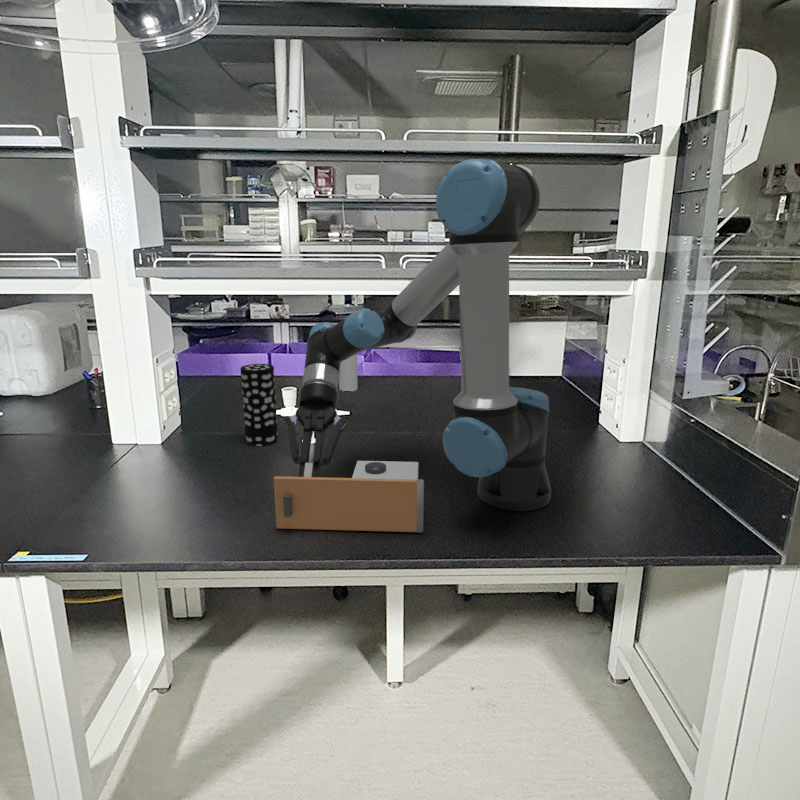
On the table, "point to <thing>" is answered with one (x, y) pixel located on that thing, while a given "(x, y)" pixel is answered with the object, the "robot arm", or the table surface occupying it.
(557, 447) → the table surface
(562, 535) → the table surface
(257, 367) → the spotted tube
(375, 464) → the cabinet housing
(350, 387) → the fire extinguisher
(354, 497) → the side door
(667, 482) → the table surface
